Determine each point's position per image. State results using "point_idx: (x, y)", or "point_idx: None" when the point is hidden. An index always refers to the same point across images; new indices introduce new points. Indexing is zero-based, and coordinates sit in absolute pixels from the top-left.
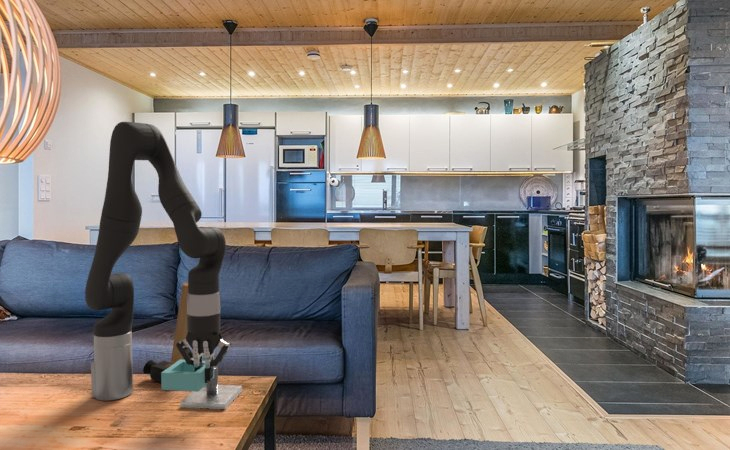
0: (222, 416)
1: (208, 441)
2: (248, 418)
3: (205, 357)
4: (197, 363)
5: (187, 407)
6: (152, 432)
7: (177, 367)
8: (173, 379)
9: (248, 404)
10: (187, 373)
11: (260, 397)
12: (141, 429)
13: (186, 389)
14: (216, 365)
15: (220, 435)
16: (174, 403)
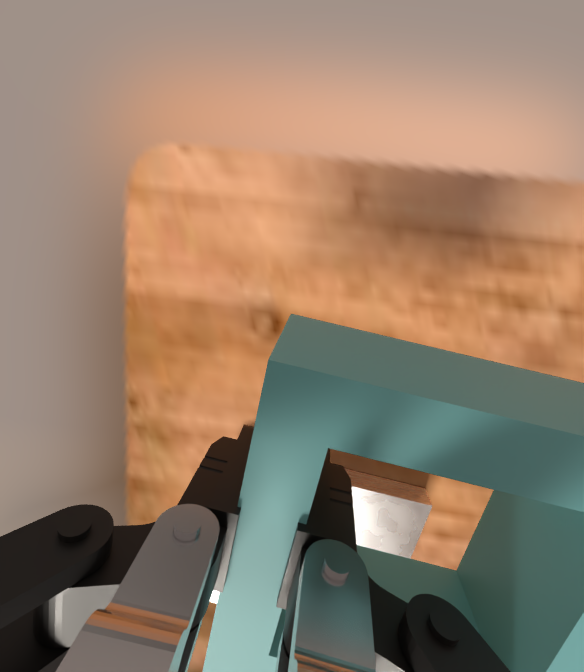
0: (238, 389)
1: (244, 168)
2: (131, 358)
3: (144, 644)
4: (317, 588)
5: (395, 482)
6: (508, 282)
7: (550, 623)
8: (548, 402)
9: (161, 473)
10: (412, 416)
11: (131, 521)
12: (562, 316)
13: (390, 339)
14: (66, 508)
15: (206, 220)
16: (455, 525)
